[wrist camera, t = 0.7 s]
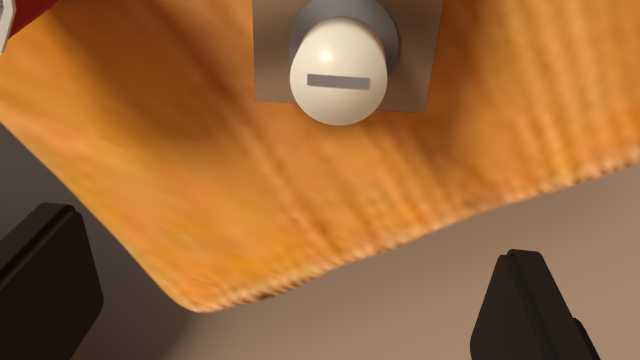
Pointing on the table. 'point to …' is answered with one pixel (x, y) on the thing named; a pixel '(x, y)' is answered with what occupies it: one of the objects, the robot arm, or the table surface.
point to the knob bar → (363, 4)
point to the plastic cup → (19, 16)
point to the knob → (339, 71)
